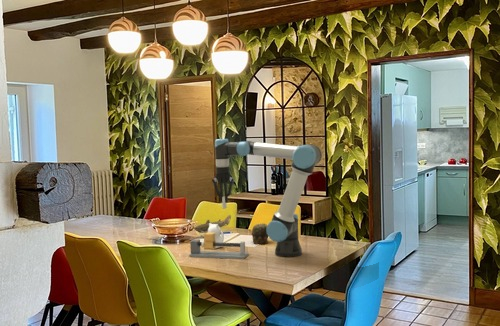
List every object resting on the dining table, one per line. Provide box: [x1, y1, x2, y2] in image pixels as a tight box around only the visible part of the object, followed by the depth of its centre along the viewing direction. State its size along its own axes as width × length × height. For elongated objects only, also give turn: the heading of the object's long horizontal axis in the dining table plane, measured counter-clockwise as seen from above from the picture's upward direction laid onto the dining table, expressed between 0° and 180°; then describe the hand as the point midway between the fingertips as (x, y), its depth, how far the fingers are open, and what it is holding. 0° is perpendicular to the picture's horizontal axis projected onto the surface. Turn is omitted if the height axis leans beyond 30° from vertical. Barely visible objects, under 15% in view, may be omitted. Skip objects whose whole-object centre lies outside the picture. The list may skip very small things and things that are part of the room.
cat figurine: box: [208, 222, 225, 250], centre depth 305 cm, size 9×12×15 cm
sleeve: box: [203, 232, 217, 251], centre depth 285 cm, size 5×5×9 cm
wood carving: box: [193, 214, 232, 234], centre depth 343 cm, size 9×35×11 cm, turn 139°
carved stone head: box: [251, 223, 269, 245], centre depth 313 cm, size 11×11×12 cm
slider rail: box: [188, 238, 249, 260], centre depth 284 cm, size 32×10×8 cm, turn 75°
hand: (224, 208), depth 283 cm, fingers closed
